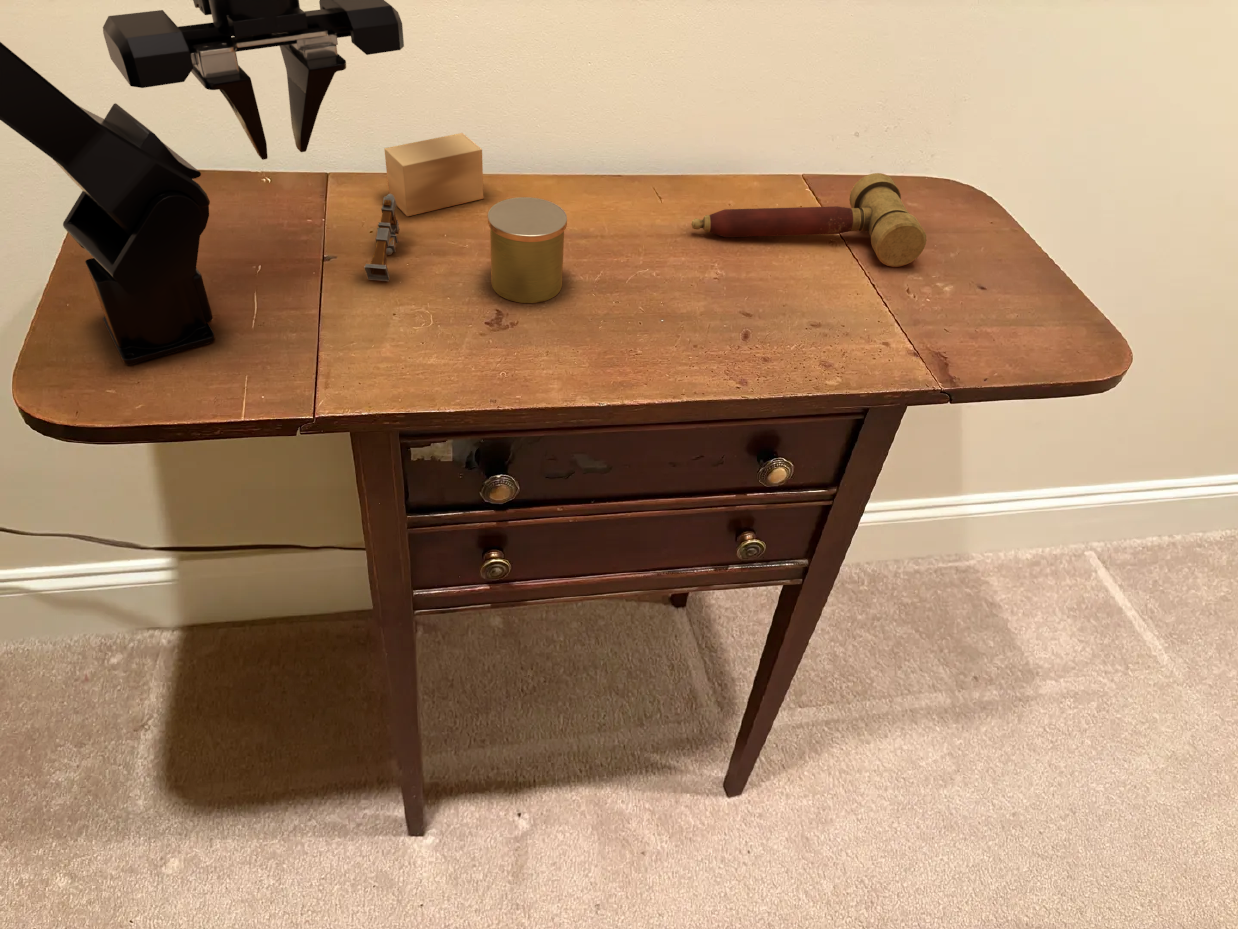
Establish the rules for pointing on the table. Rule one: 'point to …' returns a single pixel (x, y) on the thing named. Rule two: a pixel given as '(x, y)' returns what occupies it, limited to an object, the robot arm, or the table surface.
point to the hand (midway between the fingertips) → (282, 153)
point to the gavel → (835, 221)
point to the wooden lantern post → (384, 241)
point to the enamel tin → (527, 249)
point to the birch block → (434, 173)
